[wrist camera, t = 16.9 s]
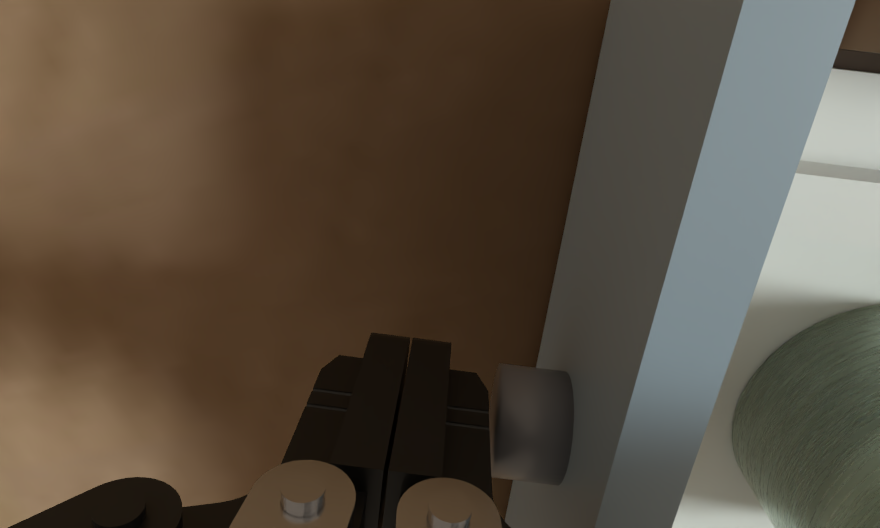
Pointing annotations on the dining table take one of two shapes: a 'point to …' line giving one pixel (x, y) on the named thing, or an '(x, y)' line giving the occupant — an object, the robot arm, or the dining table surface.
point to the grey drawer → (690, 259)
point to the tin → (816, 426)
